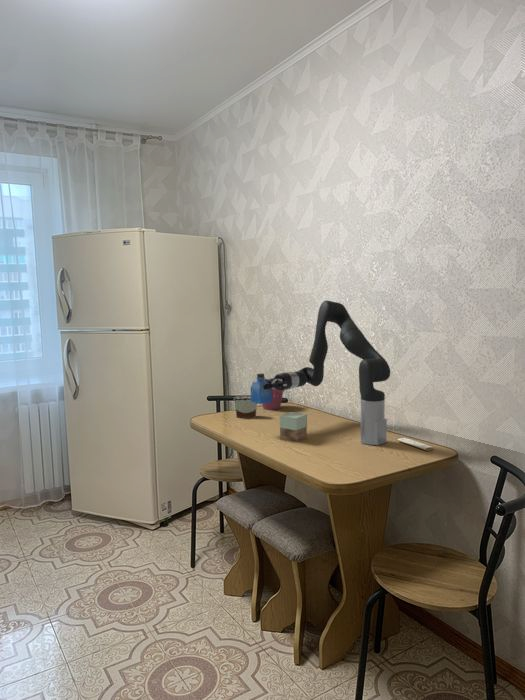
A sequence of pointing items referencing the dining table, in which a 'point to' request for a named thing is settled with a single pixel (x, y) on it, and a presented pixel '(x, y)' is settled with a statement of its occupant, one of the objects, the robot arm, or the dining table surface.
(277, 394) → the plant pot
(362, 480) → the dining table surface
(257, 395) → the perfume bottle
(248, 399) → the food container
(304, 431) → the tower base block
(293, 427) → the tower top block
